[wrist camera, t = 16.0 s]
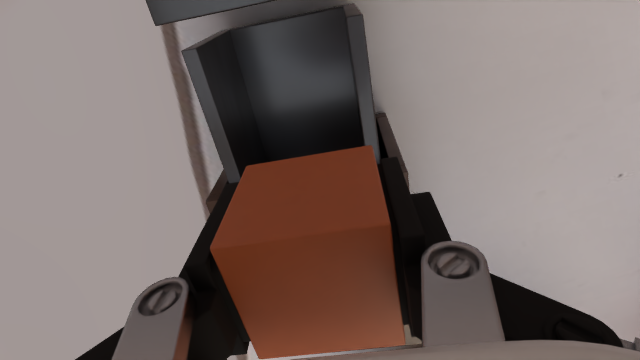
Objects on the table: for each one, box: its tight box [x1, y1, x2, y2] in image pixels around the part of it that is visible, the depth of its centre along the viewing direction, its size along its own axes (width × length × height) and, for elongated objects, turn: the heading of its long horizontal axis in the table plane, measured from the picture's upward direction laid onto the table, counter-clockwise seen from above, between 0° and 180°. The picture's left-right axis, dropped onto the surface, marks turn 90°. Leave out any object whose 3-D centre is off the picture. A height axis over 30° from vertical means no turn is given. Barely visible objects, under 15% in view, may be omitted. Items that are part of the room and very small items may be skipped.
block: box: [210, 145, 406, 359], centre depth 10 cm, size 4×4×4 cm
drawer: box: [146, 0, 380, 183], centre depth 21 cm, size 18×10×8 cm, turn 11°
